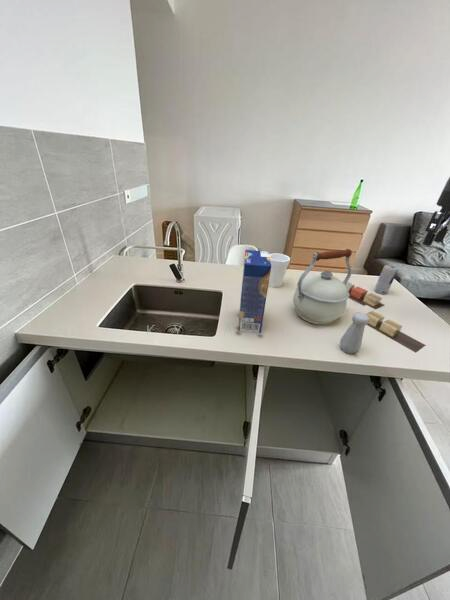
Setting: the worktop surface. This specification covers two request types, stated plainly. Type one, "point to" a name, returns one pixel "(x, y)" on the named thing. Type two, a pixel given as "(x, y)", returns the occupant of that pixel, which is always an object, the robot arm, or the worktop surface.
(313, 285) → the kettle
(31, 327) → the worktop surface
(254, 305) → the juice carton
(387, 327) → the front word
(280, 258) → the foam cup
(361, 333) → the salt shaker
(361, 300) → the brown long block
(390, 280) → the energy drink
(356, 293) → the s tile
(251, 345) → the worktop surface
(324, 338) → the worktop surface
